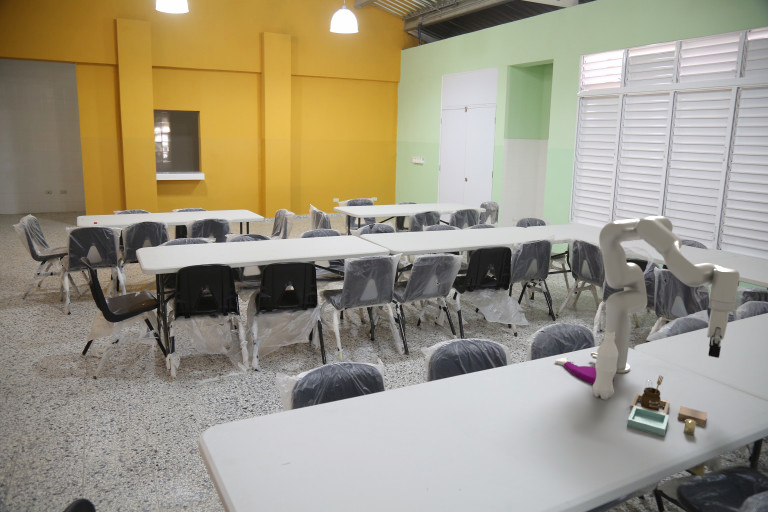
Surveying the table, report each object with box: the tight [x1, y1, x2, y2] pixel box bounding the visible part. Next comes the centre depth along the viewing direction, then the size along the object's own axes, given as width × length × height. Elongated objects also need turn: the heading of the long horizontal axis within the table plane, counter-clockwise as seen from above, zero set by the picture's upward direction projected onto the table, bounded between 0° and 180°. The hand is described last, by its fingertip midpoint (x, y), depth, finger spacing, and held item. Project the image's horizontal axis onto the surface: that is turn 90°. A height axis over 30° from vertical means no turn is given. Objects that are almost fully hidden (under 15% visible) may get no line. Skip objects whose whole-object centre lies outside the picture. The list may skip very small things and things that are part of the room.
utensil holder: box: [640, 375, 664, 412], centre depth 199 cm, size 6×6×12 cm
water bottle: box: [592, 330, 618, 400], centre depth 206 cm, size 7×7×25 cm
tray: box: [626, 406, 670, 437], centre depth 190 cm, size 11×11×2 cm
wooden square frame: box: [629, 393, 671, 415], centre depth 200 cm, size 11×11×2 cm
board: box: [677, 405, 708, 426], centre depth 195 cm, size 8×6×2 cm
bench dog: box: [683, 419, 697, 436], centre depth 185 cm, size 3×3×4 cm
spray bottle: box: [555, 356, 615, 385], centre depth 228 cm, size 3×11×24 cm
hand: (713, 352), depth 199 cm, fingers open, 9 cm apart
